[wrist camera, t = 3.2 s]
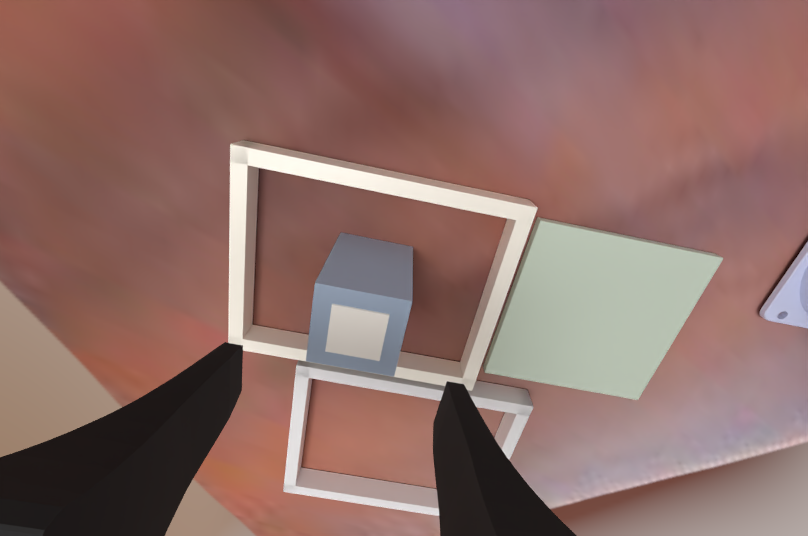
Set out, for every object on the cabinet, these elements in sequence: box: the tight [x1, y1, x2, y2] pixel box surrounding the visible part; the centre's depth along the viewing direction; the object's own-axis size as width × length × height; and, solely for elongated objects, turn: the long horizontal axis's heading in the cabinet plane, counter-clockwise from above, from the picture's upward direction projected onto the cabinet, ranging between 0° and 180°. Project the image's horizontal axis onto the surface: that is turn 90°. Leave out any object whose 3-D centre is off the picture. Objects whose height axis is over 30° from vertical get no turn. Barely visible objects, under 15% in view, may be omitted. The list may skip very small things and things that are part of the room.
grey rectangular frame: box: [283, 360, 533, 516], centre depth 27 cm, size 15×12×2 cm
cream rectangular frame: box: [228, 140, 538, 391], centre depth 21 cm, size 15×12×2 cm
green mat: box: [483, 217, 723, 400], centre depth 22 cm, size 10×10×1 cm
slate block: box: [306, 232, 413, 377], centre depth 19 cm, size 4×4×6 cm
